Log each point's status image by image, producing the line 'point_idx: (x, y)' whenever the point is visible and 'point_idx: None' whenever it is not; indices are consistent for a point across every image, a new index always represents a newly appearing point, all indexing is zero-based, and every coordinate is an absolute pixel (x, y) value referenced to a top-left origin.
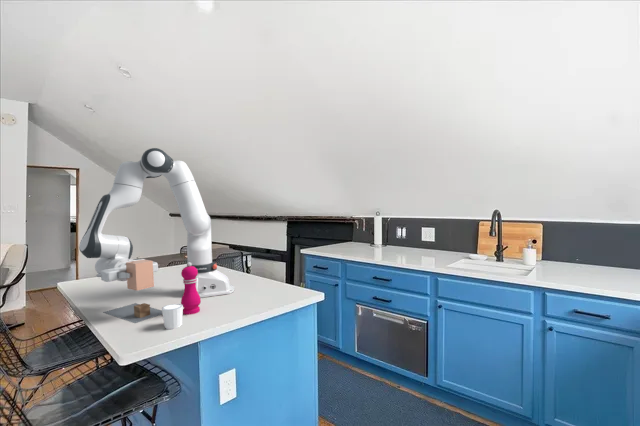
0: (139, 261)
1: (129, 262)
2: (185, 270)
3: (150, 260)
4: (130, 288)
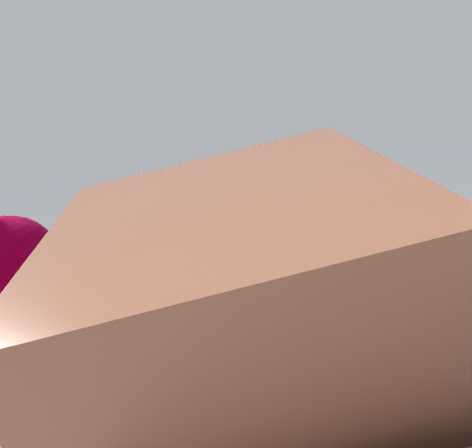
0: (206, 204)
1: (404, 195)
2: (38, 224)
3: (66, 207)
4: None
